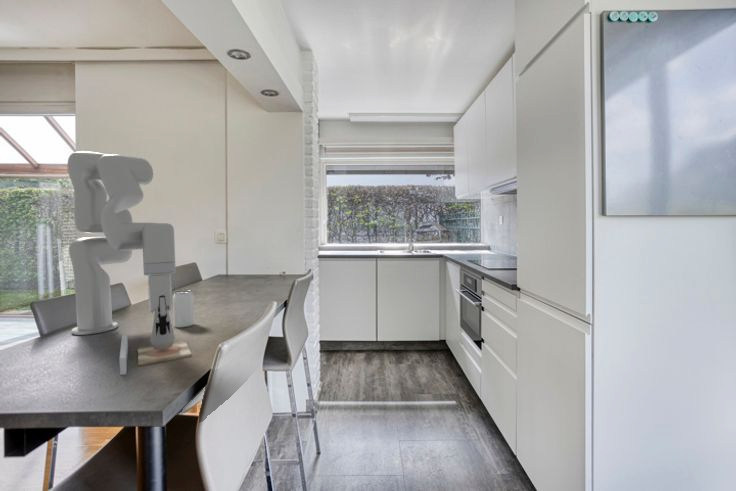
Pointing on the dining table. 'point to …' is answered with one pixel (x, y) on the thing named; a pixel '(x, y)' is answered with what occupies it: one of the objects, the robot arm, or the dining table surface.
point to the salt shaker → (162, 336)
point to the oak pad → (163, 353)
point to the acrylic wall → (123, 355)
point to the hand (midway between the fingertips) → (162, 334)
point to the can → (183, 309)
